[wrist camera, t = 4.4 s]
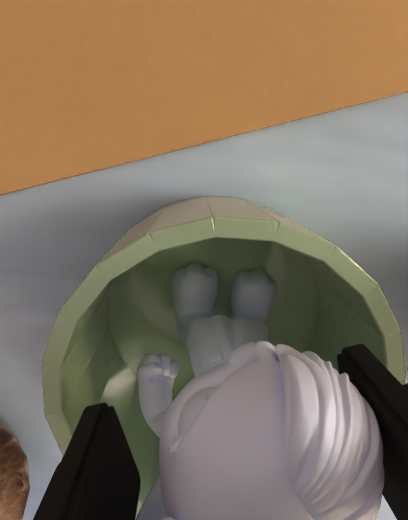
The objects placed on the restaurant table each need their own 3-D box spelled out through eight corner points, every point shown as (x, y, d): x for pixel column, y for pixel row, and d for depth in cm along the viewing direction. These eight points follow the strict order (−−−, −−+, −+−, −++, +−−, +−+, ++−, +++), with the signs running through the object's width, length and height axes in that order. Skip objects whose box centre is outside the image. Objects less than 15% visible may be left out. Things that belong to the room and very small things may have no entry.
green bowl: (308, 169, 15) (389, 172, 9) (339, 381, 18) (416, 492, 12) (64, 230, 16) (-21, 273, 9) (136, 428, 19) (109, 559, 13)
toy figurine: (300, 256, 16) (586, 502, 5) (276, 372, 18) (437, 758, 6) (155, 241, 15) (61, 474, 4) (145, 362, 17) (60, 764, 6)
